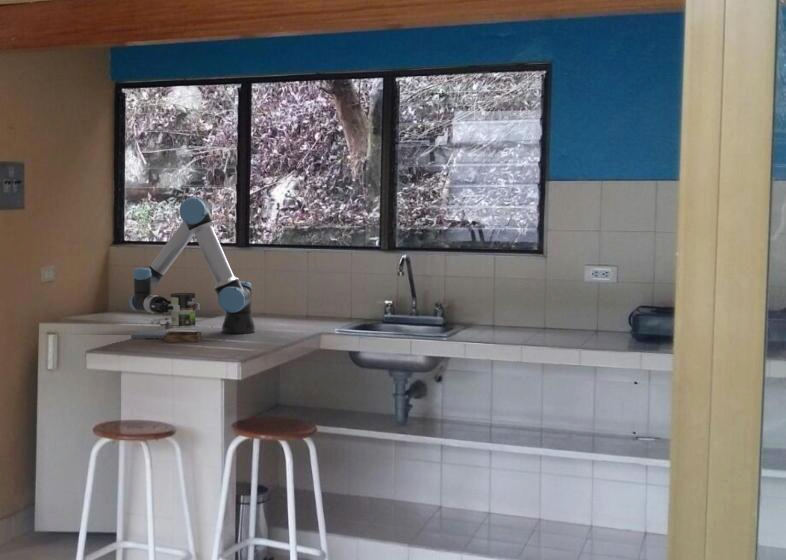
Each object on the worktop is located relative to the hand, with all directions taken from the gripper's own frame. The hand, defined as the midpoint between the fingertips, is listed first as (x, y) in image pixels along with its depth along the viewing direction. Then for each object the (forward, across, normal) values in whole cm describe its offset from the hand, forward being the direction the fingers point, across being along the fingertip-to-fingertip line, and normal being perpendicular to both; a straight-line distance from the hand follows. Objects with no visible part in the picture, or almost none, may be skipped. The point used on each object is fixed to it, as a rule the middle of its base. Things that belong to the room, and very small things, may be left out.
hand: (189, 307), depth 389 cm
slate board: (-21, +5, -14) cm, 26 cm away
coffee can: (-4, 0, -9) cm, 10 cm away
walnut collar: (-4, 0, -14) cm, 15 cm away
